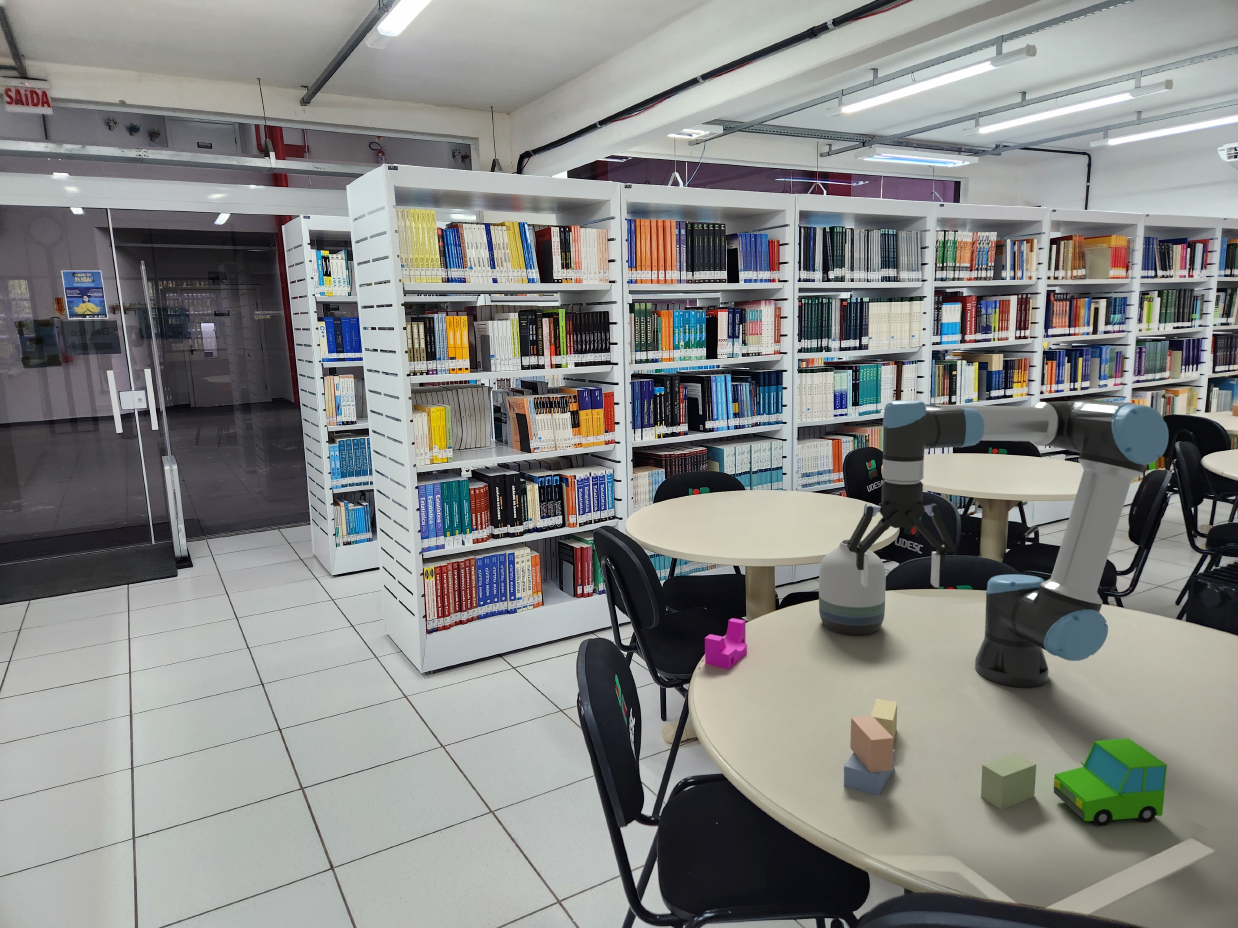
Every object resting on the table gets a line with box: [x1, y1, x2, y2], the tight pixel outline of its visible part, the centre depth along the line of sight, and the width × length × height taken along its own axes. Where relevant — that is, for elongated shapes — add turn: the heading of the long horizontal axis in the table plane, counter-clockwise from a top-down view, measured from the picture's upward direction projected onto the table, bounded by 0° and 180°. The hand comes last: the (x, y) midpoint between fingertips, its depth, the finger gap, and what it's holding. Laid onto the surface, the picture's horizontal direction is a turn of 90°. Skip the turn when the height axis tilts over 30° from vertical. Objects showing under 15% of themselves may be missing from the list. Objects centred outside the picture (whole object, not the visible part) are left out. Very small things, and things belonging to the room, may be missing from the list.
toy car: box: [1053, 738, 1168, 827], centre depth 125 cm, size 10×13×10 cm
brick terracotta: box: [849, 715, 895, 772], centre depth 136 cm, size 8×4×6 cm, turn 8°
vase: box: [818, 538, 887, 636], centre depth 204 cm, size 17×17×24 cm
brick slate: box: [843, 748, 896, 797], centre depth 137 cm, size 10×6×4 cm, turn 146°
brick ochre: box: [870, 698, 898, 744], centre depth 150 cm, size 8×4×6 cm, turn 154°
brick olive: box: [980, 752, 1037, 810], centre depth 129 cm, size 8×4×6 cm, turn 114°
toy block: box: [704, 617, 748, 670], centre depth 189 cm, size 15×6×8 cm, turn 146°
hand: (899, 585), depth 152 cm, fingers open, 13 cm apart
